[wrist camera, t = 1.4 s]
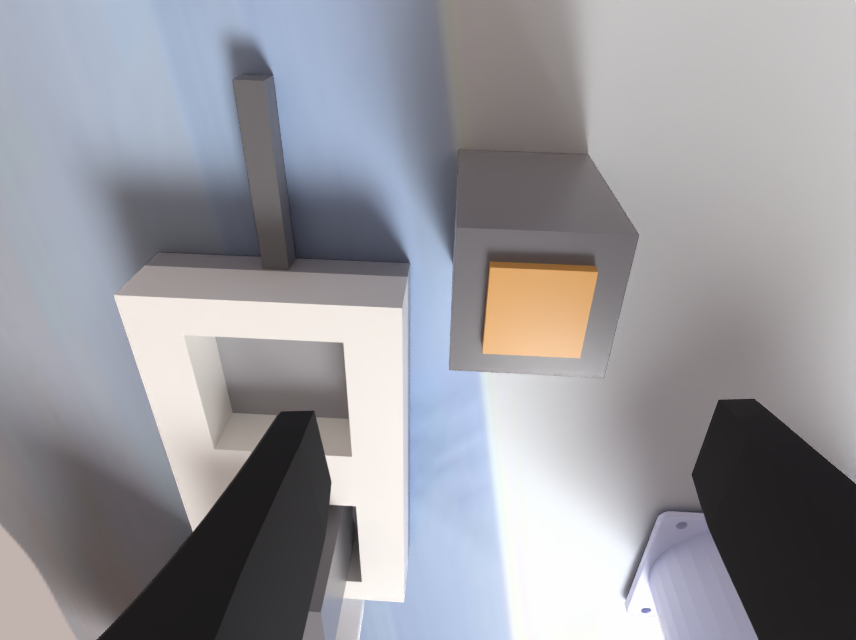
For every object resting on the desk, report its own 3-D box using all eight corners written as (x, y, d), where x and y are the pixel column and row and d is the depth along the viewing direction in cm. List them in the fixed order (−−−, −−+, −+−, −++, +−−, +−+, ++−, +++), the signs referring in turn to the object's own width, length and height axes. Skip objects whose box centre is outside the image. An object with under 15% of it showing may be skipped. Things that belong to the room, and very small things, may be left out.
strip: (108, 70, 17) (-86, 131, 11) (410, 79, 16) (380, 148, 10) (234, 534, 29) (175, 683, 23) (409, 545, 28) (395, 698, 22)
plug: (587, 154, 17) (642, 240, 12) (567, 268, 19) (606, 385, 14) (458, 149, 17) (456, 233, 12) (452, 264, 20) (448, 377, 14)
